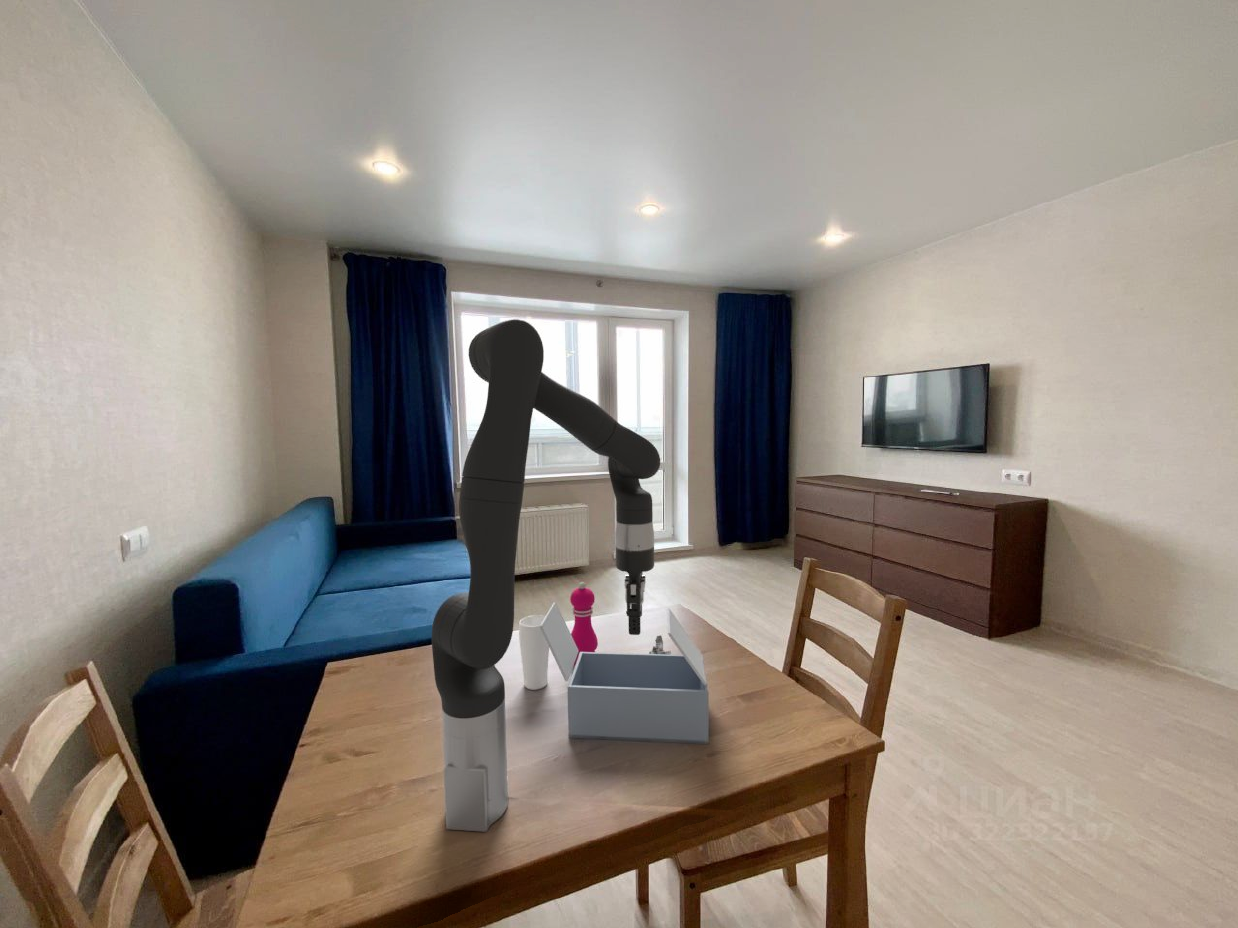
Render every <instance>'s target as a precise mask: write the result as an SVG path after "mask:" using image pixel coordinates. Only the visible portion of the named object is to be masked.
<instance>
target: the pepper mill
mask: <svg viewBox="0 0 1238 928" xmlns="http://www.w3.org/2000/svg"><path fill="white" fill-rule="evenodd" d="M595 599H596V598H595V593H594V591H592V590H591V589H590V588H588V587H587V584H586V583H585V582H584V581H581V582H579V584H578V588H576V589H573V591H572V592H571V594H570V600H569V601H570V604H571V606H572V615H573V616H574V624H573V629H572V631H571V632H570V633H571V636H572V638H573V640H574V642H575V644H576V646H577V648H578V650H579V651H578V654H577V657H576V660H575V662H574V665H573V666H575V665H576V662H577V659H578V656H579V653H580V652H596V650H597V649H598V645H599V643H598V642H599V641H598V636H597V634H596V632H595V630H594V628H593V625H592V615H593V613H594V611H593V610H594V609H593V605H594V604H595Z"/></svg>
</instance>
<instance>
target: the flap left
mask: <svg viewBox="0 0 1238 928" xmlns="http://www.w3.org/2000/svg"><path fill="white" fill-rule="evenodd" d="M544 616H545V618H544V620H543V621H542V623H541V625H540V629H541V631H542V633H543V635H544V637H545V639H546V641H547V643H548V645H549V651H550V652H551V655H552V656H553V657H554V660H555V662H556V665H557V666H558V668H559V671H560V673H561V674H562V678H563V679H564V680H565V682H567V681H569V680H570V679H569V678H570V677H571V673H572V672H573V669H574V668H573V667H574V666H575V665H574V662H575V660H576V657H577V654H578V651H579V650H578V648H577V646H576V644H575V642H574V640H573V638H572V636H571V633H572V632H570V629H569V627H568V625H567V623H566V621H565V619H564V617H563V615H562V613H561V610H560V608H559V606H558V604H557V602H556V601H555V602H553V603H552V605H551V606H550V608H549V609H548V612H547V613H546V615H544Z"/></svg>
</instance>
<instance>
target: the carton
mask: <svg viewBox="0 0 1238 928" xmlns="http://www.w3.org/2000/svg"><path fill="white" fill-rule="evenodd" d="M702 660H703V661H704V656H702ZM703 666H704V671H705V672H706V669H705V664H704V662H703ZM573 667H574V668H573V669H572V672H571V673H572V674H571V675H570V679H569V680H568V681H569V682H568V685H567V719H568V720H567V721H568V725H567V726H568V727H567V728H568V730H567V731H568V739H586V740H587V739H588V740H610V741H611V740H612V741H629V742H630V741H631V742H650V743H653V742H655V743H673V744H674V743H675V744H692V745H693V744H695V745H696V744H697V745H709V721H710V720H709V717H710V716H709V710H710V709H709V708H710V707H709V704H710V703H709V696H710V694H709V693H710V692H709V687H708V682H707V679H706V683H707V684H706V685H704V684H703V683H702V681H701V680H700V678H699V677H698V676H697V674H696V673H695V671H694V670H693V669H692V667H691V666H690V664H689V663H688V662H687V660H686V659H685V657H684V656H683V655H682V654H671V655H669V654H649V653H632V652H631V653H629V652H627V653H626V652H599V651H598V652H596V651H595V652H580V653H579V656H578V659H577V662H576V665H574V666H573ZM705 677H706V673H705ZM706 678H707V677H706Z"/></svg>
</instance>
